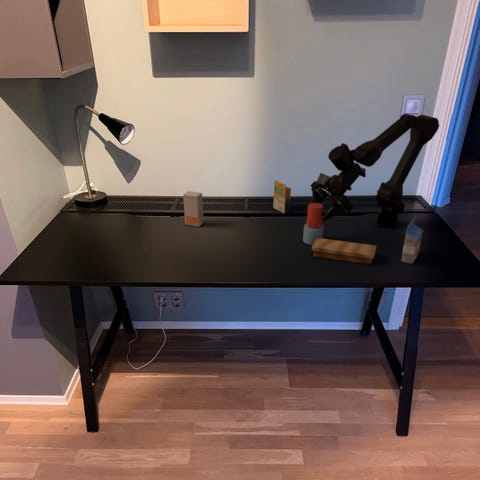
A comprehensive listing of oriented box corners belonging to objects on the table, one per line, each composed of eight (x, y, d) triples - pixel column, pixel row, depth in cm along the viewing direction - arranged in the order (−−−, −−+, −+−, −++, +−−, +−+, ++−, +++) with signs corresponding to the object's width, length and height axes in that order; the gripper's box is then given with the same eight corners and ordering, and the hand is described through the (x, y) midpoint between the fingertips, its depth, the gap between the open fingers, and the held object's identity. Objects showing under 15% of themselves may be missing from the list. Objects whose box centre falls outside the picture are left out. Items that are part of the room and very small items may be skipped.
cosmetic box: (185, 224, 175) (182, 194, 168) (190, 220, 178) (187, 190, 171) (199, 227, 173) (197, 196, 166) (204, 223, 176) (202, 192, 169)
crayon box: (289, 212, 185) (291, 183, 178) (284, 213, 183) (285, 185, 177) (278, 206, 190) (279, 178, 183) (273, 208, 188) (274, 180, 182)
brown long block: (374, 255, 152) (376, 245, 150) (372, 265, 147) (374, 255, 145) (315, 247, 158) (316, 237, 156) (311, 256, 152) (311, 247, 150)
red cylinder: (322, 223, 160) (324, 203, 156) (319, 228, 156) (321, 208, 152) (308, 221, 161) (309, 202, 157) (305, 226, 157) (306, 207, 153)
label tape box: (412, 264, 147) (420, 228, 140) (399, 261, 149) (407, 226, 142) (419, 253, 153) (427, 219, 146) (407, 251, 155) (414, 216, 148)
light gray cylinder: (323, 238, 164) (326, 215, 159) (320, 246, 158) (322, 223, 154) (305, 235, 166) (306, 213, 161) (301, 243, 160) (302, 220, 156)
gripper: (317, 157, 156) (287, 193, 158) (350, 171, 142) (317, 211, 145) (334, 177, 163) (305, 211, 166) (367, 192, 149) (335, 230, 152)
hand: (314, 215), depth 157 cm, fingers open, 9 cm apart
